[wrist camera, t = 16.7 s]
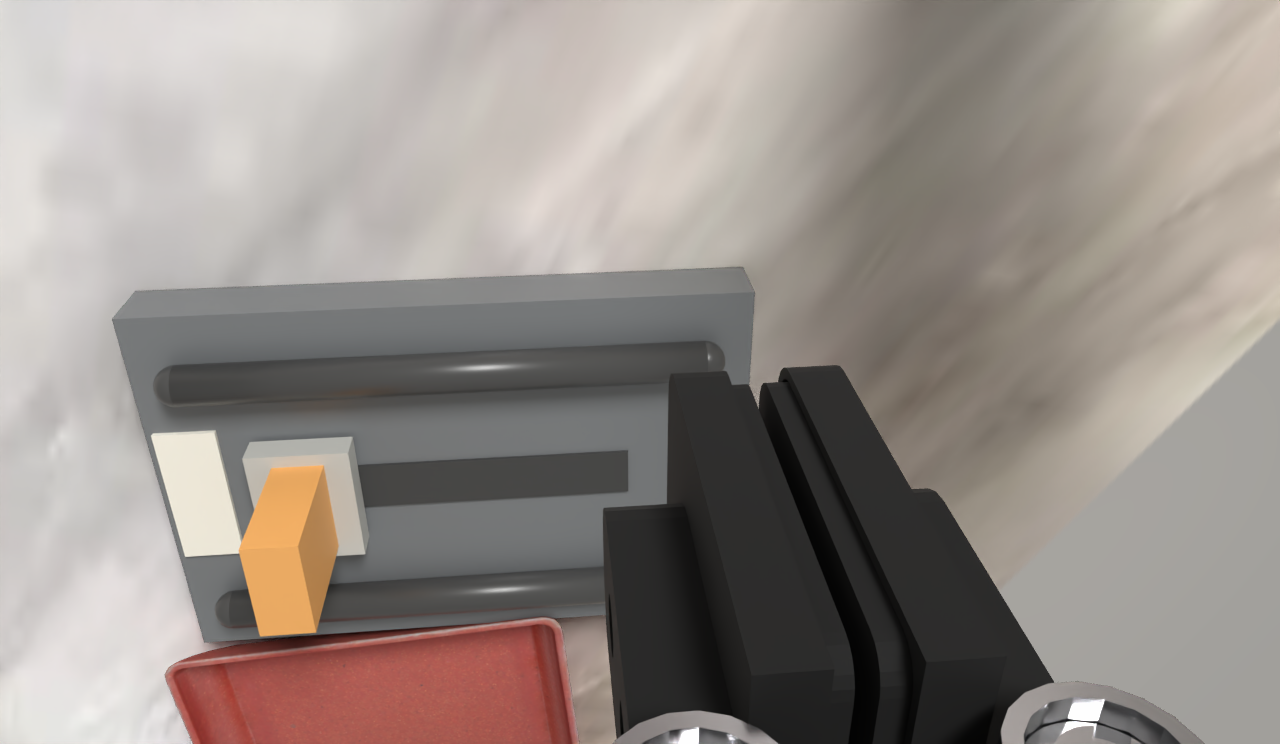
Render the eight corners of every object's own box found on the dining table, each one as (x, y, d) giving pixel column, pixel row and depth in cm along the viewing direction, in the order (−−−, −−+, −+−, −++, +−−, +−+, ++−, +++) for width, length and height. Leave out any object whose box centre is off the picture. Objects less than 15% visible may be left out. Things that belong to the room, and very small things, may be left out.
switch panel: (742, 267, 41) (763, 309, 37) (726, 570, 49) (742, 630, 45) (135, 291, 39) (95, 338, 35) (219, 604, 47) (193, 668, 43)
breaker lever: (352, 436, 40) (325, 533, 34) (369, 536, 42) (346, 640, 37) (249, 441, 39) (205, 540, 34) (272, 542, 42) (234, 648, 36)
